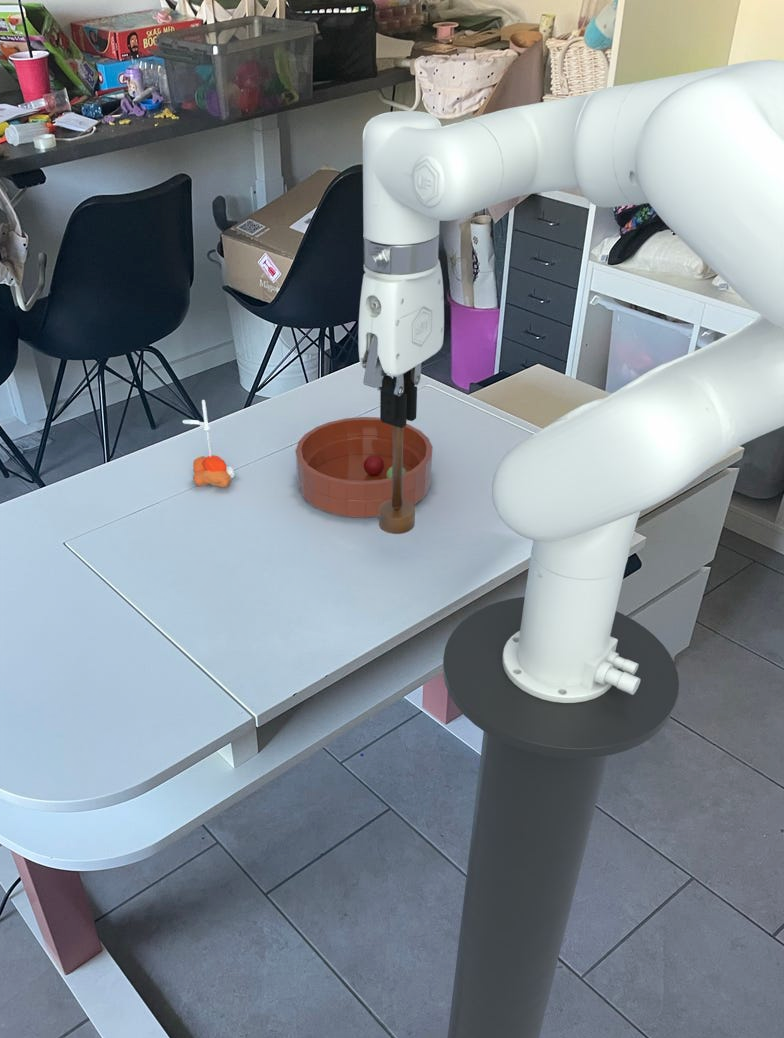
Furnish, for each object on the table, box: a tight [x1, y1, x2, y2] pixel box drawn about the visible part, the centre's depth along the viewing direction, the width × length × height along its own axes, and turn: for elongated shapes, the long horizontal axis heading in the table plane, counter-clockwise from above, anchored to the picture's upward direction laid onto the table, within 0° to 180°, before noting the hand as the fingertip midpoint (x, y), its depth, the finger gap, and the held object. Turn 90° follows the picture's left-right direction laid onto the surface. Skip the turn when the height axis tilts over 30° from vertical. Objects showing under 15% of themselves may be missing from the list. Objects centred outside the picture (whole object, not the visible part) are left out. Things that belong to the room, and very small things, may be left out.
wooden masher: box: [378, 376, 416, 535], centre depth 109 cm, size 4×4×19 cm
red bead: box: [364, 455, 384, 476], centre depth 139 cm, size 3×3×3 cm
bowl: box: [295, 416, 433, 518], centre depth 137 cm, size 20×20×6 cm
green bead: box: [387, 467, 406, 479], centre depth 137 cm, size 3×3×3 cm
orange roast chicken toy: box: [182, 399, 236, 488], centre depth 139 cm, size 6×10×12 cm, turn 38°
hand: (398, 419), depth 106 cm, fingers closed on wooden masher, 1 cm apart
